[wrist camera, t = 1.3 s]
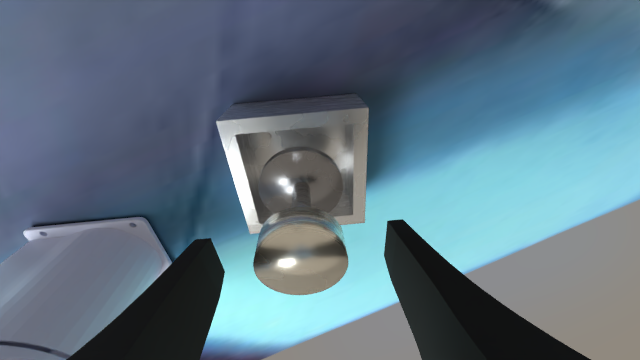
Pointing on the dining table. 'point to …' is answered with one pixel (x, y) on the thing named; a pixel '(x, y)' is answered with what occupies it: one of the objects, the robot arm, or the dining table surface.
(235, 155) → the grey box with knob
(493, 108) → the dining table surface
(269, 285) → the metal door knob
